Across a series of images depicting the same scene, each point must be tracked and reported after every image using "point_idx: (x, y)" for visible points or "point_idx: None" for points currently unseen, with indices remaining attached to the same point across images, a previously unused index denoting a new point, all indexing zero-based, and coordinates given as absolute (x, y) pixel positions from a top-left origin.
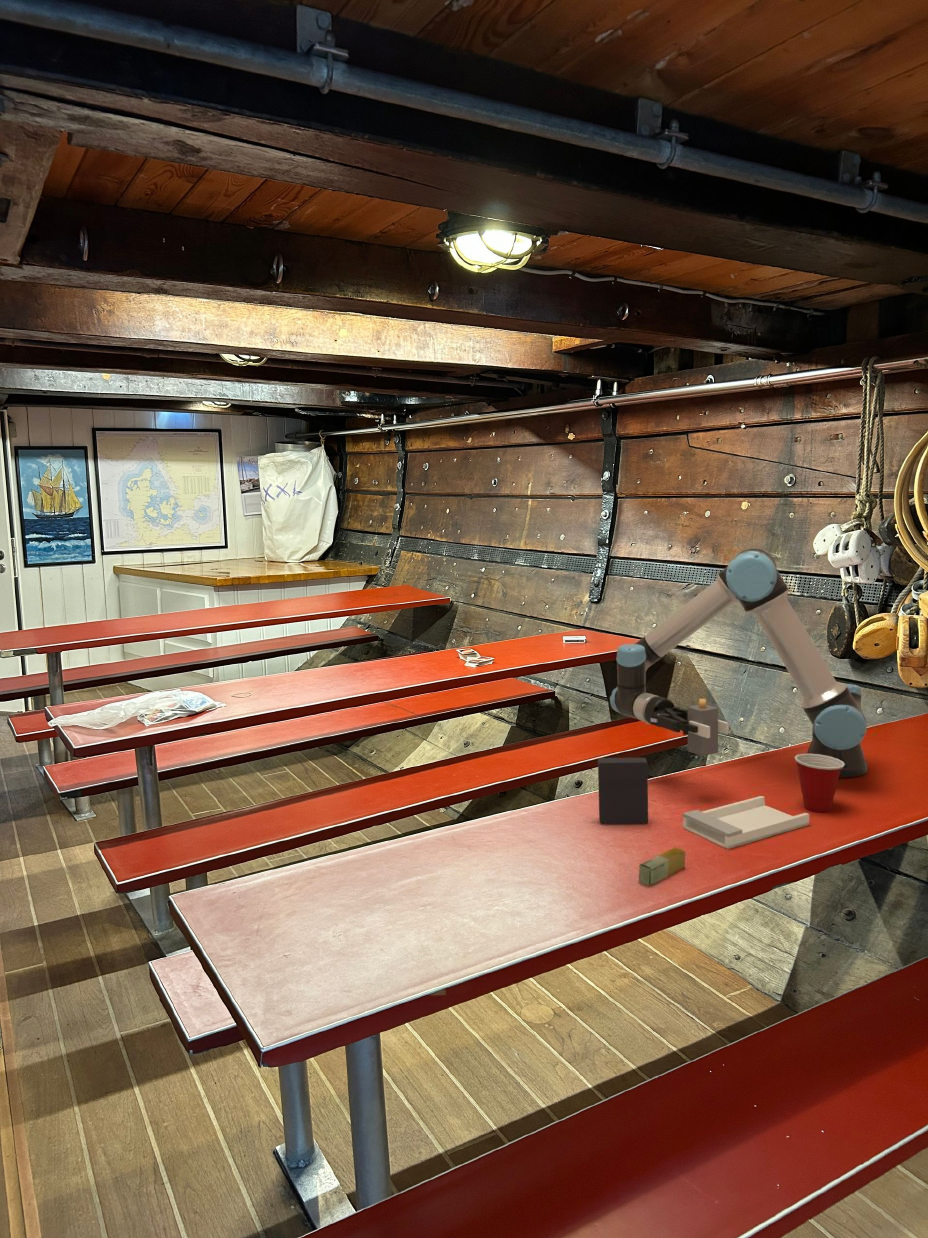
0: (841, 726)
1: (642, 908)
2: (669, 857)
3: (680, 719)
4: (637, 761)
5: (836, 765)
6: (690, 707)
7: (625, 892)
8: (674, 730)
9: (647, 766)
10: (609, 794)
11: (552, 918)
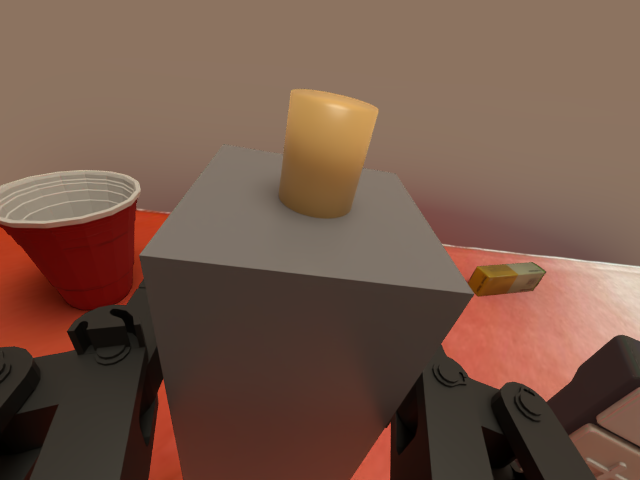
0: None
1: (531, 260)
2: (503, 265)
3: (476, 476)
4: None
5: (29, 195)
6: (443, 258)
7: (550, 285)
8: (512, 463)
9: (608, 342)
10: None
11: (629, 290)
